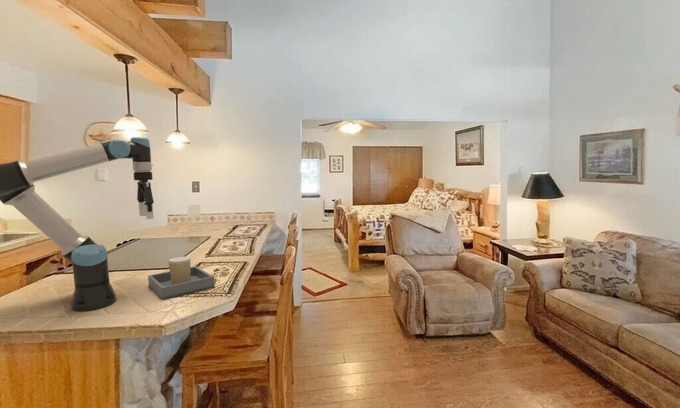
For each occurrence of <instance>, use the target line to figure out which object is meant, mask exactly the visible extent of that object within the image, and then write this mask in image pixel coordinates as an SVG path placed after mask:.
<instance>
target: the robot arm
mask: <svg viewBox="0 0 680 408" xmlns="http://www.w3.org/2000/svg"><path fill="white" fill-rule="evenodd" d="M151 157H152V155H151V143H150V139H149V138H148V137H144V136H135V137H131V138H130V141H126V140H124V139H122V138H115V139H112V140H110V141H109V140H105V141H104V140H103V141H100V142H99V143H97V144H92V145H88V146H86V147H81V148H77V149H72V150H69V151H65V152H60V153H56V154H53V155H48V156H43V157H40V158H37V159H30V160H29V161H21V160H16V161H10V162H4V163H0V202H1V203H2V204H3V205H6V206H7V205H8V206H12V207H14V209H16V210H17V211H18V212H19V213H20V214H21V215H22V216H24V218H26V219H27V220H28V221H30V223H32V224H33V226H35V227H36V228H37V229H38V230H40V231H41V232H42V233H43V234H44V235H45V236H46V237H47V238H49V240H51V241H52V242H53V243H54V244H55V245H56V246H57V247H58V248H60V249H61V256H62V257H63V258H64V259H65V260H67V261H68V262H69V263H70V264H71V265H72V272H73V273H72V274H73V282H74V291H73V294H72V299H71V302H70V308H71V310H72V311H76V312H86V311H94V310H98V309H102V308H106V307H108V306H111V305H113V304H114V303H115V302H116V301H117V295H116V292H115V290H114V288H113V286H112V285H111V282H110V275H109V274H110V273H109V262H108V251H107V247H106V246H104V245H102V244H98V243H96V242H95V241H94V240H93V239H91V237H90V236H89V235H82V234H81V233H80V232H78V231H77V230H76V229H75V228H74V227H73V226H72V225H71V224H70V223H69V222H68V221H67V220H66V219H65V218H64V217H62V215H60V214H59V213H58V212H57V211H56V210H55V209H54V208H53V207H52V206H51V205H50V204H49V203H48V202H46V201H45V200H44V199H43V198H42V197H41V195H39V194H38V193H37V192H36V191H35V190H36V189H35V187H36V186H35V185H34V183H35V182H38V181H41V180H46V179H50V178H53V177H57V176H61V175H65V174H67V173H72V172H75V171H79V170H81V169H86V168H90V167H93V166H97V165H100V164H104V163H108V162H112V161H116V160H121V159H122V160H123V159H129V160H130V159H132V171H133V180H134V181H136V182H137V196H136V197H137V202H138V211H139V217H145V218H146V220H153V219H154V209H153V206H154V205H153V204H154V203H155V201H154V197H153V193H152V188H151V187H152V185H151V182H149V181H151V180H153V179H154V178H153V172H152V170H153V169H152V167H153V165H154V164H152V158H151Z"/></svg>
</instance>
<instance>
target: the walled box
mask: <svg viewBox="0 0 680 408" xmlns="http://www.w3.org/2000/svg"><path fill="white" fill-rule="evenodd" d="M147 278H148V279H147V280H148V287H149V288H150V290H152V291H153V292H154V293H155V294H156V295H157V296H158V297H159V298H160V299H161V300H162V301H163V300H167V299H172V298H176V297H179V296H180V297H181V296H184V295H188V294H192V293H193V294H194V293H197V292H201V291H205V289H206V290H209V288H210V289H213V288H212V287H214V288H215V287H216V286H215V276H213V275H212V274H210V273H208V272H207V271H206V270H204V269H202V268H200V267H199V266H197V265H196V266H190V281H188V282H184V283H179V284H175V285H172V283H171V276H170V270H169V271H166V272H161V273H154V274H150V275H147Z"/></svg>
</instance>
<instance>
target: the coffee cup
mask: <svg viewBox="0 0 680 408" xmlns="http://www.w3.org/2000/svg"><path fill="white" fill-rule="evenodd" d="M167 262H168V268H169V271H170V276H171V283H172V285H175V284H179V283H184V282H188V281H190V267H191V262H192V261H191V257H189V256H177V257H173V258H170V259H168V261H167Z"/></svg>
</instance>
